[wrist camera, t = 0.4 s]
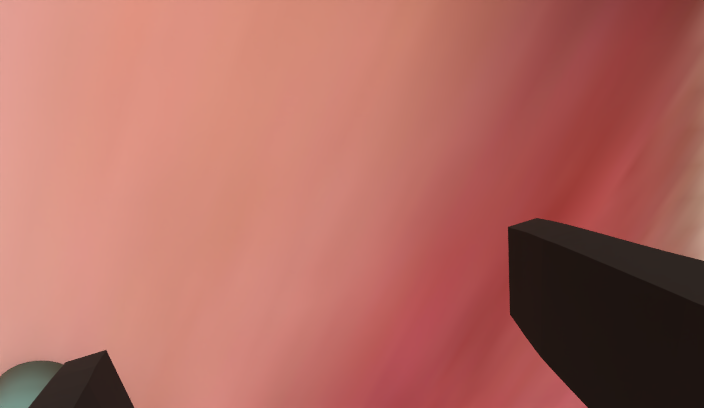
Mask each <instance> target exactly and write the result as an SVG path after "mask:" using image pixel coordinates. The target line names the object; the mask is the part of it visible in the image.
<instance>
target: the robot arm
mask: <svg viewBox="0 0 704 408" xmlns="http://www.w3.org/2000/svg"><path fill="white" fill-rule="evenodd" d="M508 244H509V289H510V315H511V316H512V318H513V319H514V321H515V322H516V323H517V325H518V326H519V328H520V329H521V331H522V332H523V334H524V335H525V336H526V338H527V339H528V340H529V342H530V343H531V344H532V346H533V347H534V349H535V350H536V351H537V353H538V354H539V355H540V357H541V358H542V359H543V360H544V361H545V362H546V363H547V364H548V365H549V367H550V368H551V369H552V370H553V371H554V372H555V373H556V374H557V375H558V376H559V377H560V378H561V380H562V381H563V382H564V383H565V384H566V385H567V386H568V387H569V388H570V389H571V390H572V391H573V392H574V393H575V394H576V396H577V397H578V398H579V399H580V400H581V401H582V402H583V403H584V404H585V405H586V406H587V407H588V408H704V261H702V260H698V259H694V258H690V257H686V256H682V255H678V254H674V253H670V252H666V251H663V250H659V249H655V248H651V247H648V246H644V245H640V244H636V243H633V242H629V241H626V240H622V239H618V238H615V237H611V236H608V235H604V234H600V233H597V232H593V231H589V230H586V229H582V228H578V227H574V226H570V225H567V224H563V223H558V222H554V221H549V220H544V219H539V218H536V219H533V220H529V221H526V222H523V223H520V224H516V225H513V226H510V227H508ZM28 408H134V406H133V404H132V402H131V400H130V398H129V396H128V394H127V392H126V390H125V388H124V386H123V384H122V382H121V380H120V378H119V376H118V374H117V371H116V369H115V367H114V365H113V363H112V361H111V359H110V357H109V355H108V353H107V351H106V350H104V351H101V352H98V353H95V354H91V355H88V356H85V357H82V358H78V359H75V360H72V361H68V362H66V363H65V364H64V365H63V366H62V367H61V368H60V369H59V370H58V372H57V373H56V374H55V375H54V376H53V377H52V379H51V380H50V381H49V382H48V384H47V385H46V386H45V387H44V388H43V390H42V391H41V392H40V393H39V395H38V396H37V397H36V398H35V400H34V401H33V402H32V404H31V405H30V406H29V407H28Z"/></svg>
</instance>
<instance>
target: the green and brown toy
mask: <svg viewBox="0 0 704 408" xmlns="http://www.w3.org/2000/svg"><path fill="white" fill-rule="evenodd" d="M62 366H63V364H60V363H56V362H50V361H33V362H27V363H23V364H20V365H17V366H15V367H13V368H11V369H9V370H8V371H6V372H5V373H4V374H2V375H1V376H0V408H28V407H29V406H30V405H31V404H32V402H33V401H34V400H35V398H36V397H37V396H38V395H39V393H40V392H41V391H42V390H43V388H44V387H45V386H46V385H47V384H48V382H49V381H50V380H51V379H52V377H53V376H54V375H55V374H56V373H57V372H58V370H59V369H60V368H61V367H62Z"/></svg>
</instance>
